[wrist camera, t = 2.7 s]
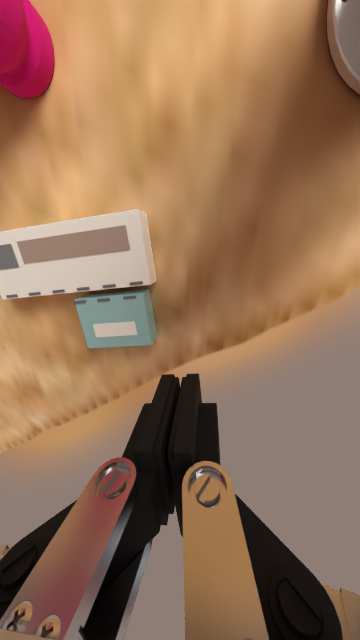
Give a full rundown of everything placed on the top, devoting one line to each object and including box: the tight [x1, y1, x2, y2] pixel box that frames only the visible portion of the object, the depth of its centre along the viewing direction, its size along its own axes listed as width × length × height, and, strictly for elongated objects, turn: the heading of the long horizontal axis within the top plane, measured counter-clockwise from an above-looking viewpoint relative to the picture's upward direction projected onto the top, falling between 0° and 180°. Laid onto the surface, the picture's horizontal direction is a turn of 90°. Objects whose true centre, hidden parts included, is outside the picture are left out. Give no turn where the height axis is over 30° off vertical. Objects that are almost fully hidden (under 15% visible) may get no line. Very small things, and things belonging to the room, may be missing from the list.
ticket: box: [0, 209, 157, 300], centre depth 23 cm, size 18×7×3 cm, turn 96°
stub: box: [74, 289, 157, 348], centre depth 24 cm, size 8×6×3 cm
